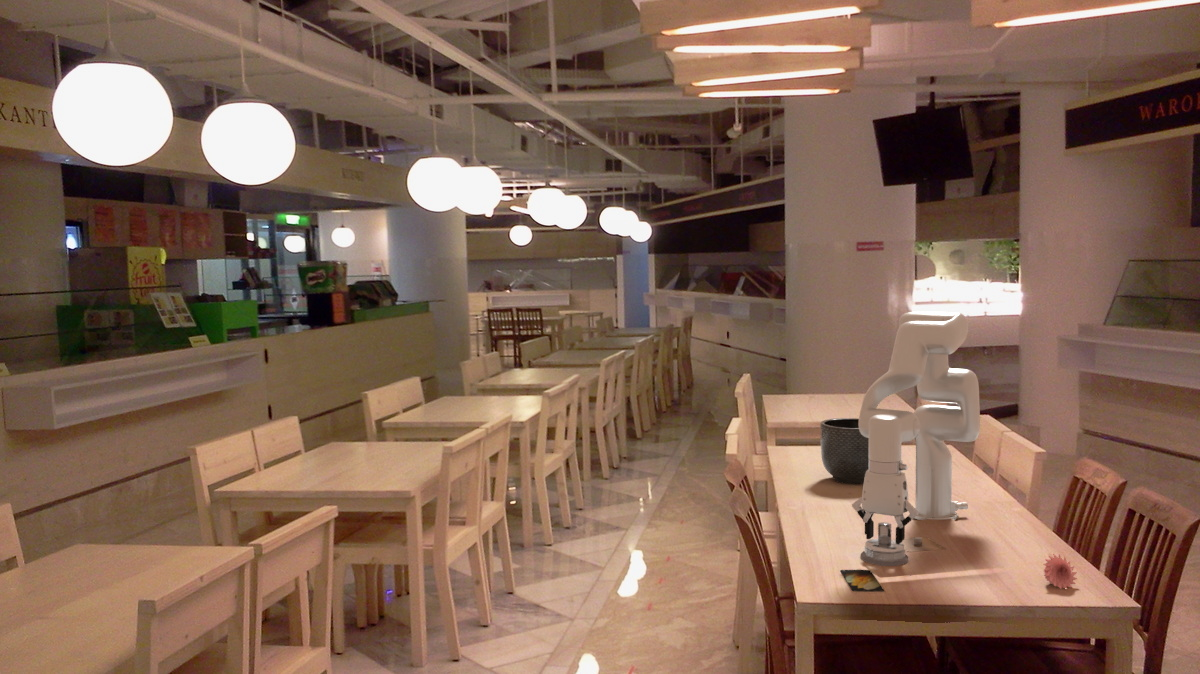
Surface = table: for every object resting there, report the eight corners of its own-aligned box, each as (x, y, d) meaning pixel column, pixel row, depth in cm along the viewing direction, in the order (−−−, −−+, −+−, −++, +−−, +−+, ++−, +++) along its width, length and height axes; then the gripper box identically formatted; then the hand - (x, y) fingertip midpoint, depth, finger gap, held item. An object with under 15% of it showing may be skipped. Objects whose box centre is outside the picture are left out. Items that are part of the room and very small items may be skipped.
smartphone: (870, 569, 220) (885, 591, 206) (870, 572, 220) (885, 594, 206) (839, 569, 221) (852, 591, 206) (839, 572, 221) (852, 594, 206)
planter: (859, 471, 319) (859, 416, 318) (895, 484, 301) (895, 425, 299) (808, 476, 313) (808, 420, 312) (841, 490, 295) (841, 430, 293)
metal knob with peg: (872, 547, 232) (872, 517, 231) (909, 553, 227) (909, 522, 226) (859, 557, 225) (859, 525, 224) (897, 564, 220) (897, 531, 219)
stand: (926, 541, 242) (926, 531, 241) (946, 552, 232) (947, 542, 232) (890, 543, 240) (890, 533, 240) (909, 555, 230) (909, 545, 230)
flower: (1036, 552, 213) (1050, 545, 208) (1069, 566, 212) (1084, 559, 207) (1032, 584, 209) (1046, 578, 204) (1065, 599, 208) (1081, 592, 203)
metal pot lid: (894, 553, 232) (894, 541, 232) (916, 567, 221) (917, 555, 221) (852, 556, 230) (853, 544, 230) (873, 571, 220) (873, 558, 219)
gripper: (926, 468, 222) (925, 542, 223) (855, 460, 232) (855, 530, 233) (916, 474, 216) (916, 550, 217) (844, 465, 226) (843, 538, 227)
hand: (884, 539), depth 225 cm, fingers open, 6 cm apart
